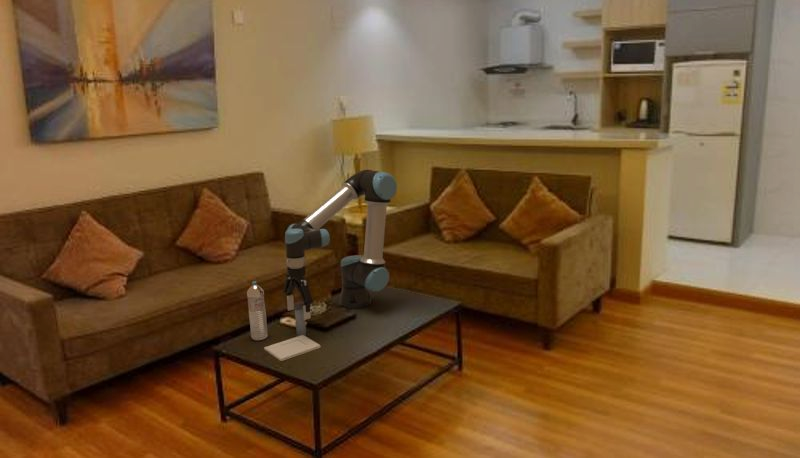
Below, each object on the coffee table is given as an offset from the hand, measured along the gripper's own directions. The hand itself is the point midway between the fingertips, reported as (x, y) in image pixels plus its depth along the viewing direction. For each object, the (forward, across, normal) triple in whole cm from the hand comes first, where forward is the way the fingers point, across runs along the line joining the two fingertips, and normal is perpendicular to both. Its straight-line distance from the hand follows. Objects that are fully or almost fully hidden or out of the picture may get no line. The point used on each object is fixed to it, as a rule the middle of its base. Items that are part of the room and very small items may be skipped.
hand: (299, 314), depth 264 cm
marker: (+9, 0, +1) cm, 9 cm away
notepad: (+9, +10, -9) cm, 17 cm away
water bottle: (+10, -9, -14) cm, 20 cm away
